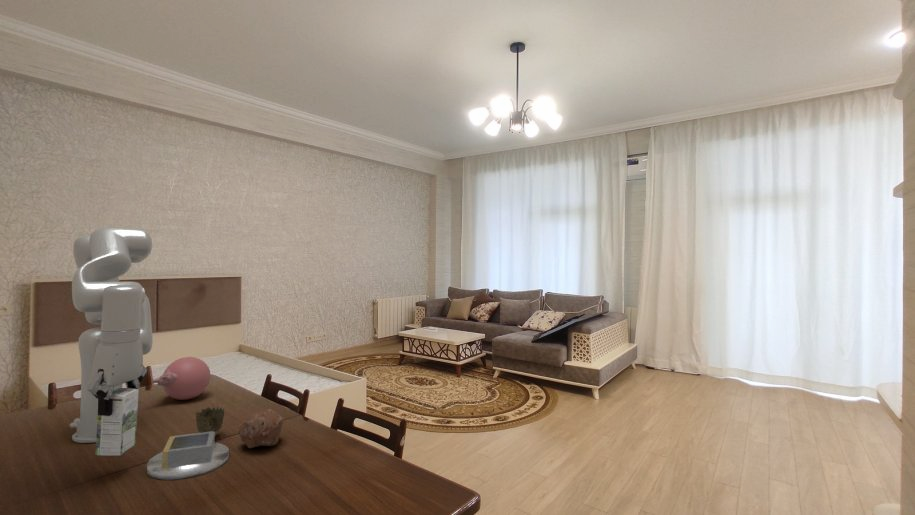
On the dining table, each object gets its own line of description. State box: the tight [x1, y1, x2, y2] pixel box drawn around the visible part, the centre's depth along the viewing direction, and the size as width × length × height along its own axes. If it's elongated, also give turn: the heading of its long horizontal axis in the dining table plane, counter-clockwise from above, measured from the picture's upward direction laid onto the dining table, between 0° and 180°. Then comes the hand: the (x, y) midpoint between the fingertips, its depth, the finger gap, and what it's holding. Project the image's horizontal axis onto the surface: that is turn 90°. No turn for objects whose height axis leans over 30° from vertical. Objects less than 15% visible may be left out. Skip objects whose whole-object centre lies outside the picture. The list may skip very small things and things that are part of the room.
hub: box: [146, 431, 230, 481], centre depth 114 cm, size 18×18×6 cm
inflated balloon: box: [151, 356, 211, 401], centre depth 161 cm, size 15×20×15 cm
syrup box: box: [95, 387, 140, 457], centre depth 107 cm, size 6×6×14 cm
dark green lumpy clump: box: [195, 406, 226, 438], centre depth 129 cm, size 8×7×8 cm
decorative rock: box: [237, 408, 284, 449], centre depth 125 cm, size 13×11×10 cm
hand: (118, 409), depth 107 cm, fingers closed on syrup box, 6 cm apart
